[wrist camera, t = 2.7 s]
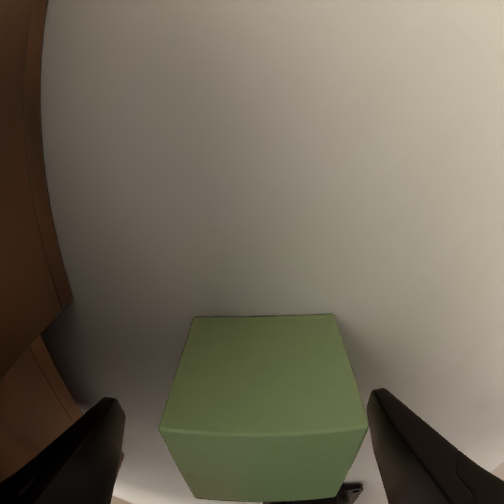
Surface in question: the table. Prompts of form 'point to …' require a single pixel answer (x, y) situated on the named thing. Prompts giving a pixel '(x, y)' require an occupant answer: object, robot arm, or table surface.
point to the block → (264, 409)
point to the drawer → (33, 409)
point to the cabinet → (24, 190)
